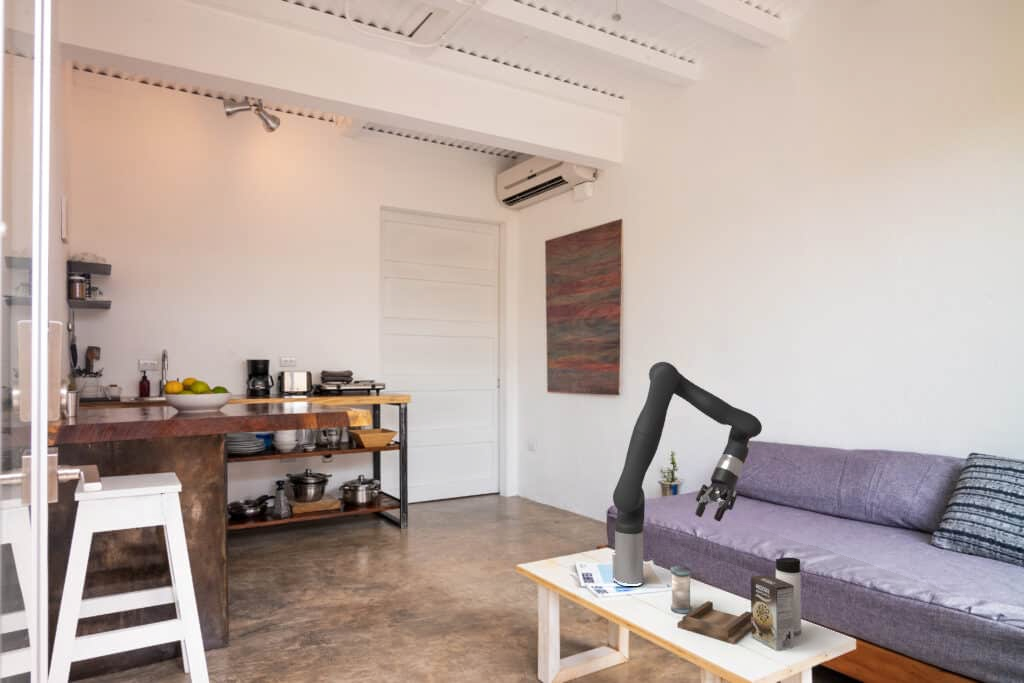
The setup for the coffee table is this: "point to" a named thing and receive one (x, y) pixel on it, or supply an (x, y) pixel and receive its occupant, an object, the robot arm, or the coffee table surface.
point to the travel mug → (791, 574)
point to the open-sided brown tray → (716, 623)
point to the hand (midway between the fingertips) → (707, 518)
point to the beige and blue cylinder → (681, 590)
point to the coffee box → (772, 612)
